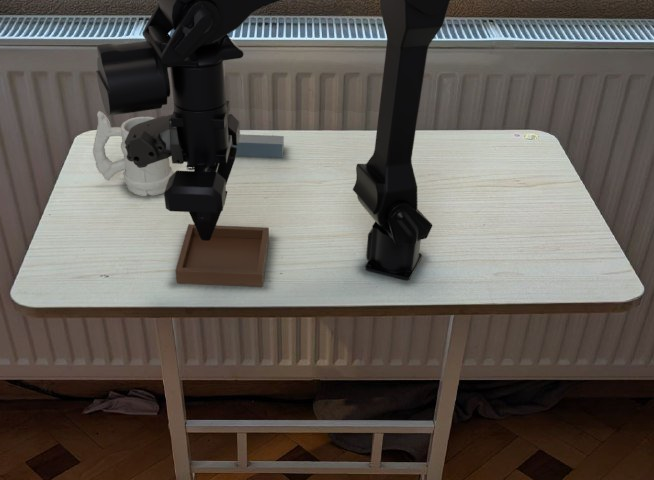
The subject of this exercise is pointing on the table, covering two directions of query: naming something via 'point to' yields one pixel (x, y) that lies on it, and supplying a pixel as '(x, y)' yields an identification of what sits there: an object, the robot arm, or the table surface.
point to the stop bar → (260, 146)
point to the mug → (137, 179)
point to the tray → (224, 257)
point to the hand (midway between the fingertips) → (209, 224)
